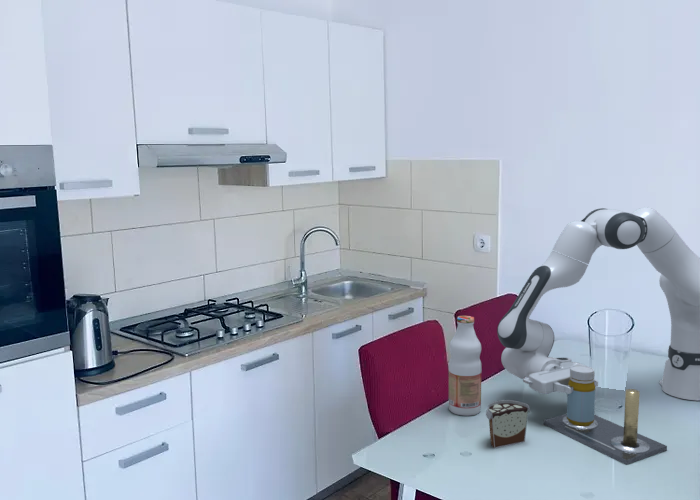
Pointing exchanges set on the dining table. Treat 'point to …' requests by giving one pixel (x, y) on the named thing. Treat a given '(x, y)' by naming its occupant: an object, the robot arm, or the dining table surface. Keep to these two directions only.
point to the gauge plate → (612, 433)
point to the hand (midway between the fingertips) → (584, 387)
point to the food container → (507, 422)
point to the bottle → (581, 396)
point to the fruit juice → (465, 369)
